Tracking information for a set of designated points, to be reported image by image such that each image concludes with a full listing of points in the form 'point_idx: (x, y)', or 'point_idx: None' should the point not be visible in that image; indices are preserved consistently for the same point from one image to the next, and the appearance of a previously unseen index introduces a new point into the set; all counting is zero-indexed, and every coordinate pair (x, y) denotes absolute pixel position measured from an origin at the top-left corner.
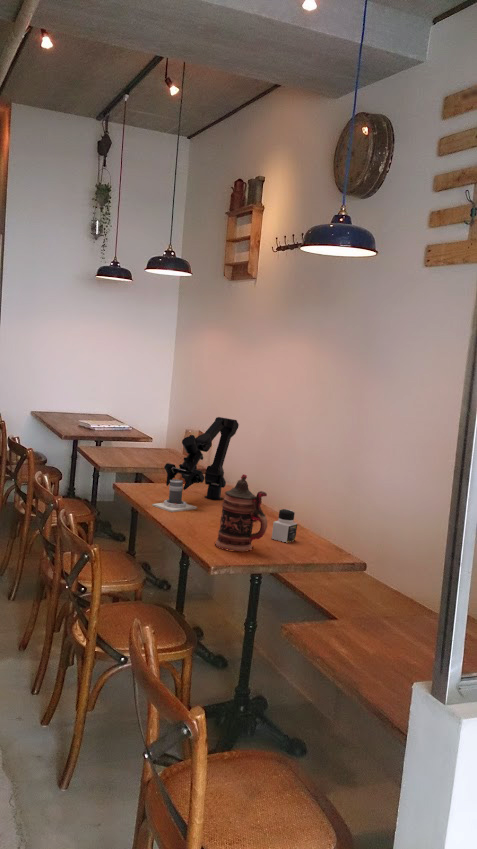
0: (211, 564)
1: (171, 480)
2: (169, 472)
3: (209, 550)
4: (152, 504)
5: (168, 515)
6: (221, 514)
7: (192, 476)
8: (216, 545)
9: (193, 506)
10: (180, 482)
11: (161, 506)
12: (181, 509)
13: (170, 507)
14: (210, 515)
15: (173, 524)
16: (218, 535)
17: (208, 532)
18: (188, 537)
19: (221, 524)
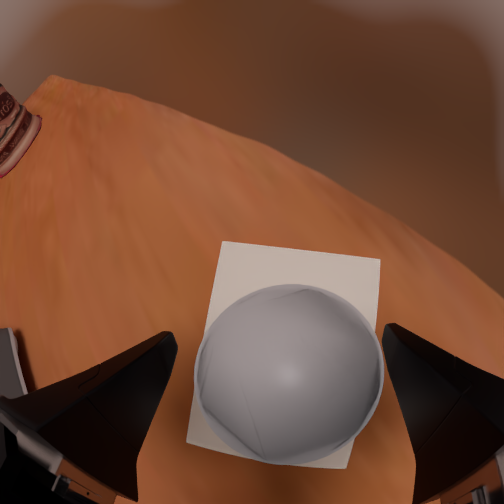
0: (50, 76)
1: (339, 320)
2: (477, 393)
3: (49, 97)
4: (377, 259)
5: (201, 184)
6: (4, 91)
7: (30, 393)
8: (38, 117)
9: (205, 438)
10: (202, 348)
11: (314, 261)
12: (207, 318)
13: None
14: (88, 363)
15: (135, 123)
16: (27, 113)
17: (49, 161)
18: (82, 99)
19: (13, 97)
